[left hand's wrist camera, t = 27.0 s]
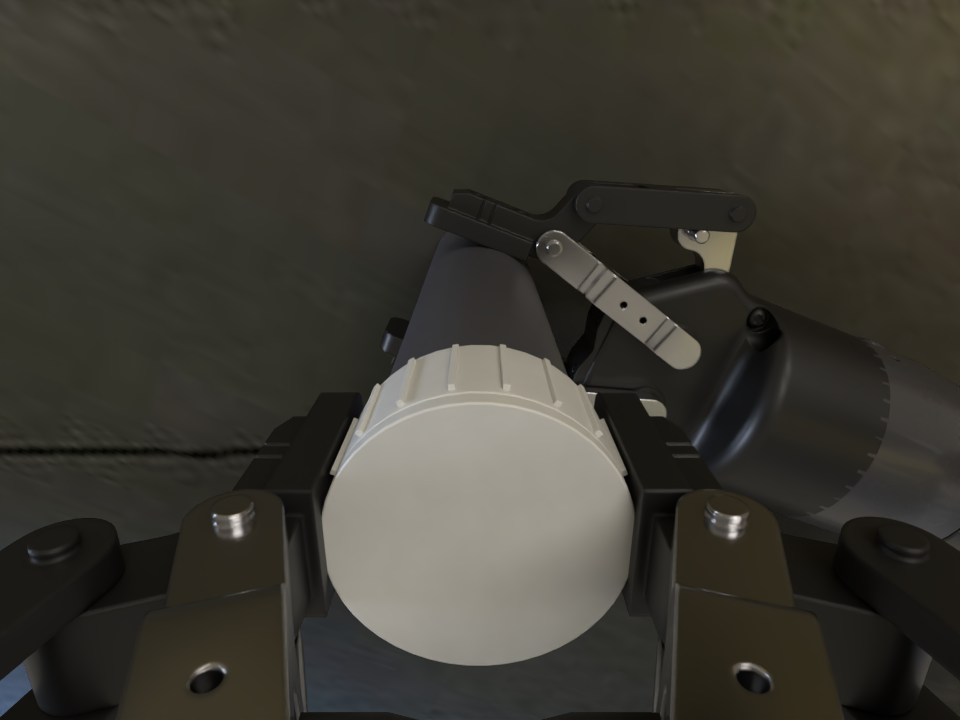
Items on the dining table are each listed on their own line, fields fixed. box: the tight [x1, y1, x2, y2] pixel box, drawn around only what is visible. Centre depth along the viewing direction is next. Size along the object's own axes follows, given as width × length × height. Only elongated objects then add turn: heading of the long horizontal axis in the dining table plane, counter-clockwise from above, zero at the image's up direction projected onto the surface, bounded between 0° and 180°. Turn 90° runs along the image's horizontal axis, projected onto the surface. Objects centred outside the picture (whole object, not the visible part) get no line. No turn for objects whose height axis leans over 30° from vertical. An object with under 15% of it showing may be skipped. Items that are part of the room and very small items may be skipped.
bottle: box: [390, 232, 568, 376], centre depth 19 cm, size 4×4×20 cm
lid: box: [322, 344, 635, 666], centre depth 10 cm, size 5×5×2 cm
